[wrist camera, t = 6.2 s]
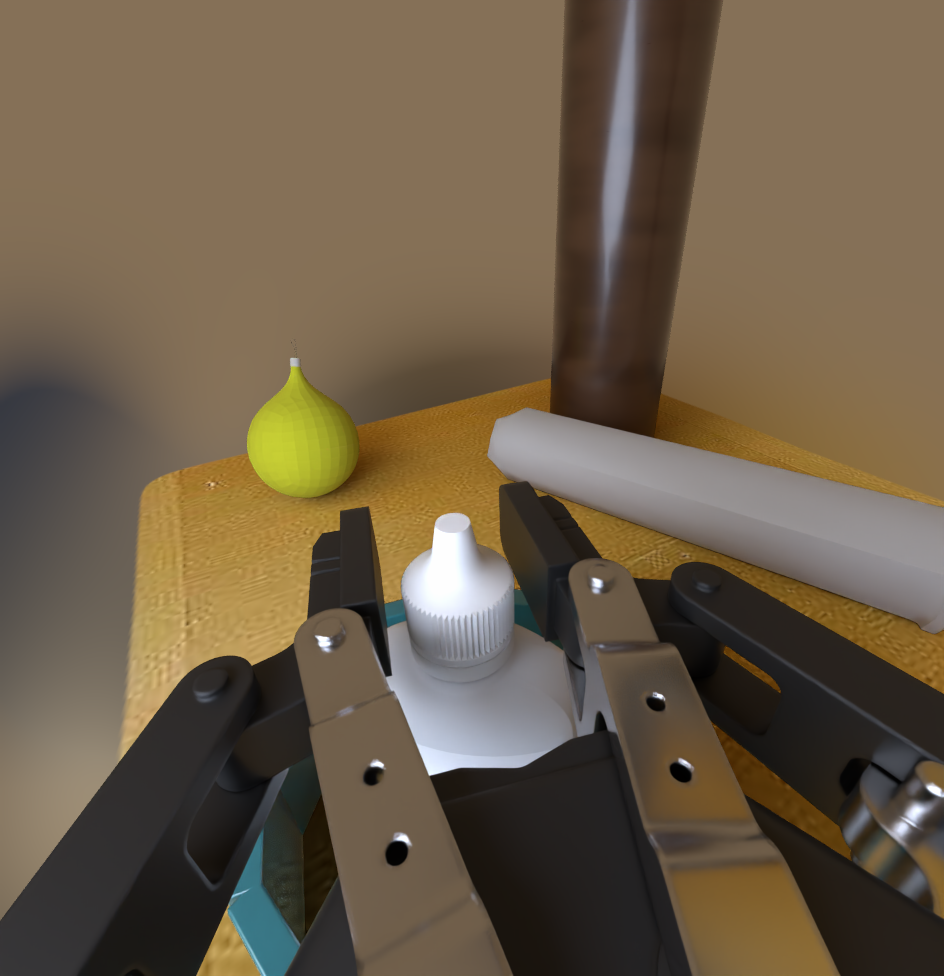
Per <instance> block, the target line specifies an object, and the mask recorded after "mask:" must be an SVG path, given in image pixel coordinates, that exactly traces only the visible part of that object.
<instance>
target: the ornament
mask: <svg viewBox="0 0 944 976" xmlns="http://www.w3.org/2000/svg"><path fill="white" fill-rule="evenodd" d="M300 362H301V360H300V359H298V358H291V359H290V366H291V372H290V377H289V379H288V381H287V384H286V385H285V386H284V387H283V389H282V390H281V391H280V392H278V393H277V394H276V395H275V396H274V397H273V398H272V399H270V400H269V401H268V402H267V403H266V404H265V405H264V406H263V407H262V408H261V409H260V410H259V411H258V412H257V414H256V416H255V417H254V419H253V420H252V422H251V425H250V428H249V430H248V437H247V450H248V455H249V459H250V461H251V464H252V466H253V468H254V470H255V471H256V473H257V474H258V475H259V477H260V478H261V479H262V480H263V481H264V482H265V483H266V484H267V485H268V486H270V487H271V488H273V489H275V490H277V491H278V492H280V493H282V494H285V495H288V496H292V497H300V498H313V497H318V496H321V495H325V494H327V493H329V492H331V491H333V490H335V489H337V488H338V487H339V486H340V485H342V484H343V483H344V482H345V481H346V480H347V479H348V478H349V476H350V475H351V474H352V472H353V470H354V468H355V466H356V463H357V460H358V456H359V437H358V432H357V430H356V427H355V424H354V422H353V421H352V419H351V417H350V416H349V414H348V413H347V412H346V411H345V410H344V409H343V407H342V406H340V405H339V404H337V403H336V402H335V401H333V400H332V399H330V398H329V397H327V396H326V395H324V394H323V393H321V392H320V391H318V390H317V389H315V388H314V387H313V386H312V385H311V384H310V383H309V382H308V381H307V379H306V378H305V377H304V375H303V373H302V371H301V363H300Z"/></svg>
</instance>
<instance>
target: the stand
mask: <svg viewBox="0 0 944 976" xmlns="http://www.w3.org/2000/svg"><path fill="white" fill-rule="evenodd" d="M722 4H723V0H565V11H564V40H563V69H562V95H561V122H560V124H561V125H560V150H559V177H558V206H557V233H556V261H555V288H554V315H553V343H552V371H551V398H550V413H551V414H555V415H560V416H564V417H568V418H572V419H576V420H580V421H585V422H589V423H593V424H597V425H601V426H605V427H610V428H614V429H618V430H622V431H626V432H630V433H635V434H639V435H643V436H647V437H651V438H654V432H655V426H656V420H657V413H658V407H659V401H660V395H661V388H662V381H663V376H664V369H665V363H666V357H667V351H668V344H669V338H670V332H671V325H672V319H673V313H674V306H675V300H676V293H677V287H678V281H679V275H680V268H681V262H682V256H683V249H684V243H685V237H686V231H687V224H688V218H689V212H690V206H691V199H692V193H693V187H694V181H695V174H696V168H697V162H698V155H699V149H700V142H701V137H702V130H703V124H704V117H705V111H706V105H707V98H708V92H709V86H710V80H711V73H712V67H713V61H714V54H715V48H716V42H717V36H718V29H719V23H720V16H721V11H722Z"/></svg>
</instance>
